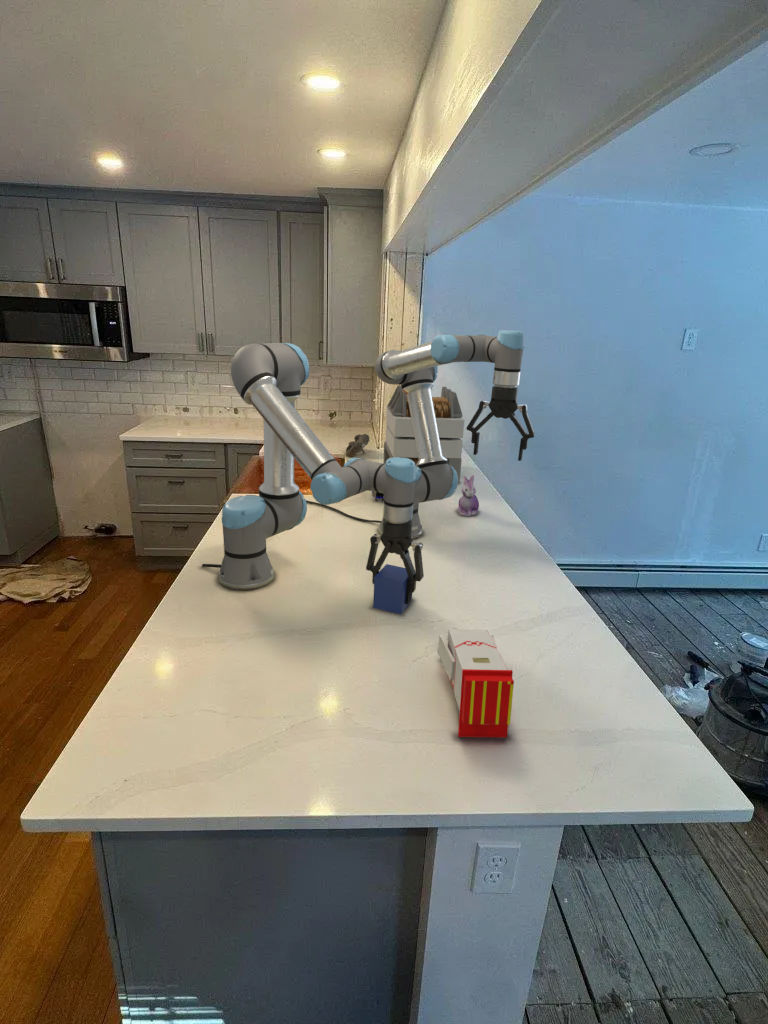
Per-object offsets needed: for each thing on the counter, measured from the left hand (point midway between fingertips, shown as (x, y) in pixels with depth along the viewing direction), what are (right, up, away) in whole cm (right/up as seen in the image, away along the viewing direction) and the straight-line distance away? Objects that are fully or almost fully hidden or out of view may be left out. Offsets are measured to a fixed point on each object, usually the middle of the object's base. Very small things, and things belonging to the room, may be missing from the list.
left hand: (393, 598), depth 152 cm
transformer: (+15, +42, +123) cm, 131 cm away
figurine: (+31, +23, +72) cm, 82 cm away
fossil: (-17, +55, +156) cm, 166 cm away
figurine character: (-4, +29, +86) cm, 90 cm away
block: (0, -2, +1) cm, 2 cm away
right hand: (+32, +40, +21) cm, 55 cm away
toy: (+16, -15, -33) cm, 39 cm away
